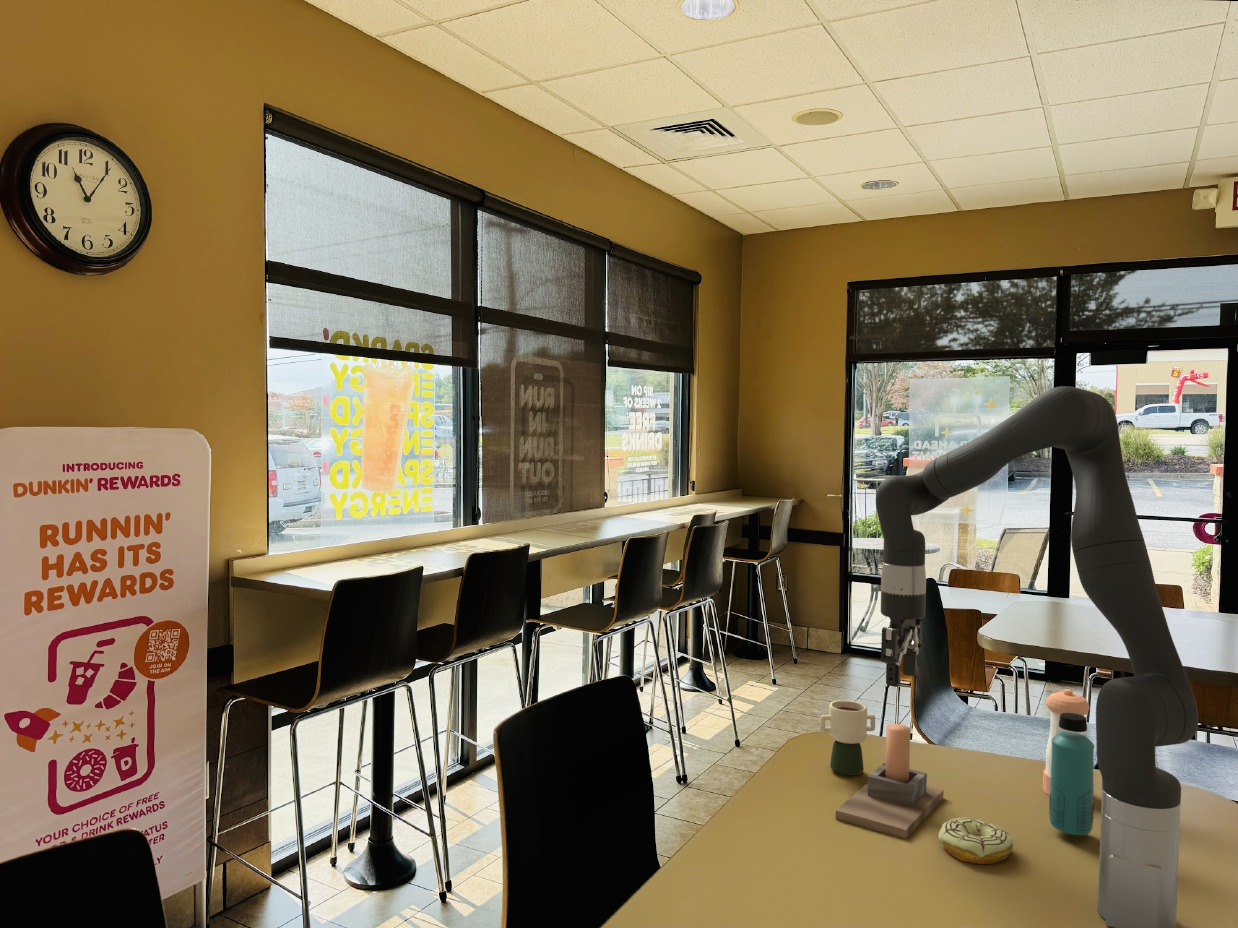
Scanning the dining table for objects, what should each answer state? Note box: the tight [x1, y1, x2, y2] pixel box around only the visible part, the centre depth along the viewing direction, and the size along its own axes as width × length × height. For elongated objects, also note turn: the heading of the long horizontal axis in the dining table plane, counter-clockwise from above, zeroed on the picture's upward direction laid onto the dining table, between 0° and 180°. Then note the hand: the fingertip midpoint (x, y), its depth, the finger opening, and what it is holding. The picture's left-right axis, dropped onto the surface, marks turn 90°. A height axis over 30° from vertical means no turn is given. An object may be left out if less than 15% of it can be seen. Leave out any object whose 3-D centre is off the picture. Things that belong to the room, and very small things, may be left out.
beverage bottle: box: [1048, 713, 1095, 836], centre depth 146 cm, size 6×7×20 cm
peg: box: [885, 723, 911, 783], centre depth 158 cm, size 4×4×12 cm
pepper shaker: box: [1042, 688, 1090, 796], centre depth 163 cm, size 7×7×19 cm
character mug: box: [819, 699, 876, 776], centre depth 172 cm, size 11×7×13 cm, turn 95°
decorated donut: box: [938, 816, 1014, 865], centre depth 141 cm, size 10×11×4 cm
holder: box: [835, 762, 944, 840], centre depth 156 cm, size 20×12×5 cm, turn 143°
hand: (901, 680), depth 157 cm, fingers open, 8 cm apart
